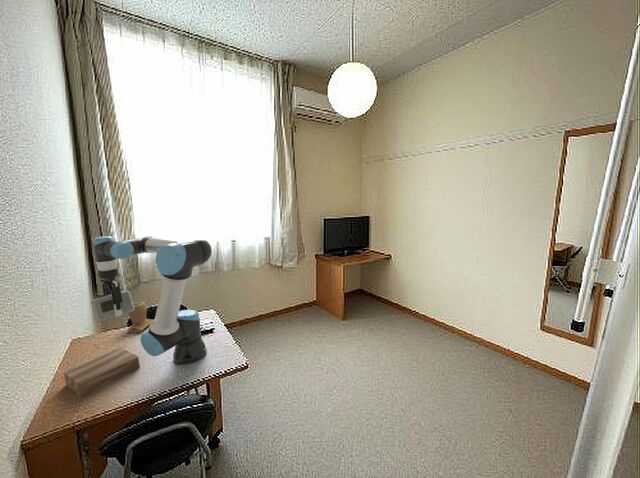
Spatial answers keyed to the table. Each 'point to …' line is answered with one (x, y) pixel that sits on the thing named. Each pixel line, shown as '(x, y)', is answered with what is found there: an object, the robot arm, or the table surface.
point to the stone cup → (139, 317)
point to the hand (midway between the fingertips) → (115, 314)
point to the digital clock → (111, 306)
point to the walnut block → (101, 371)
